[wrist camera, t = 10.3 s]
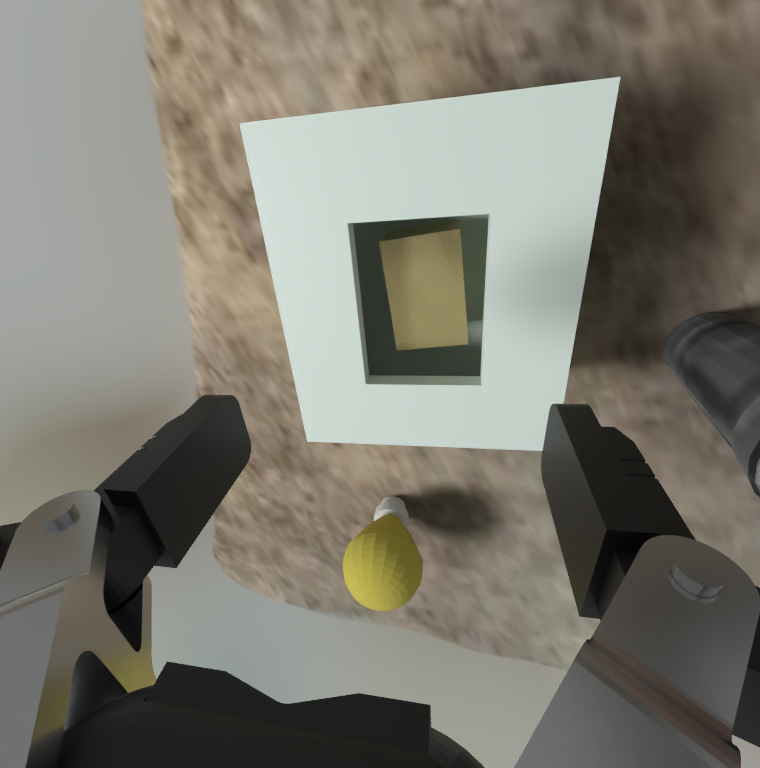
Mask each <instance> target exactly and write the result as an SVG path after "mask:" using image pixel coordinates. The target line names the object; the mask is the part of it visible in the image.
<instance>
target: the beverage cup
mask: <svg viewBox="0 0 760 768" xmlns="http://www.w3.org/2000/svg"><path fill="white" fill-rule="evenodd" d="M664 358H665V360H666V362H667V364H668V365H669V366H670V367H671V368H672V370H673V372H674V374H675V376H676V377H677V379H678V380H679V381H680V383H681V384H682V385H683V386H684V388H685V389H686V390H687V392H688V393H689V394H690V395H691V397H692V398H693V399H694V401H695V402H696V403H697V404H698V406H699V407H700V408H701V410H702V411H703V412H704V413H705V415H706V416H707V417H708V419H709V420H710V421H711V422H712V424H713V425H714V426H715V428H716V429H717V430H718V431H719V433H720V434H721V435H722V436H723V438H724V439H725V440H726V442H727V443H728V444H729V445H730V447H731V448H732V449H733V451H734V453H735V455H736V457H737V459H738V462H739V463H740V465H741V467H742V469H743V470H744V472H745V474H746V476H747V478H748V479H749V481H750V484H751V486H752V488H753V490H754V492H755V494H757V495H758V496H759V497H760V326H759V325H757V324H754V323H752V322H749V321H746V320H743V319H740V318H734V317H733V316H730V315H727V314H724V313H716V312H709V313H704V314H700V315H696V316H694V317H692V318H690V319H688V320H686V321H684V322H683V323H681V324H680V325H679V326H678V327H676V328H675V329H674V330H673V332H672V333H671V334H670V335H669V337H668V338H667V341H666V343H665V346H664Z"/></svg>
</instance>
